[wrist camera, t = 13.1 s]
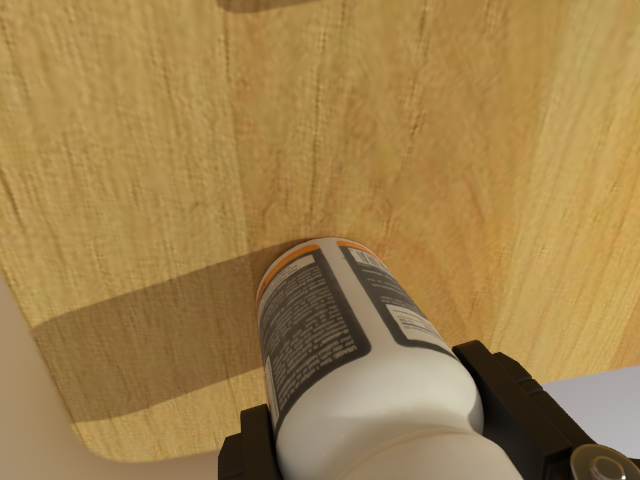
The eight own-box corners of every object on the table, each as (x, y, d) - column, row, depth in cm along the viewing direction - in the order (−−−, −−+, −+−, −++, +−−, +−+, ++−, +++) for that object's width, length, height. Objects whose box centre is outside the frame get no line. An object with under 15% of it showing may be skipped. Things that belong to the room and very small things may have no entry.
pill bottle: (271, 360, 17) (321, 676, 8) (238, 251, 14) (260, 547, 6) (390, 325, 18) (549, 583, 9) (379, 215, 15) (588, 431, 6)
